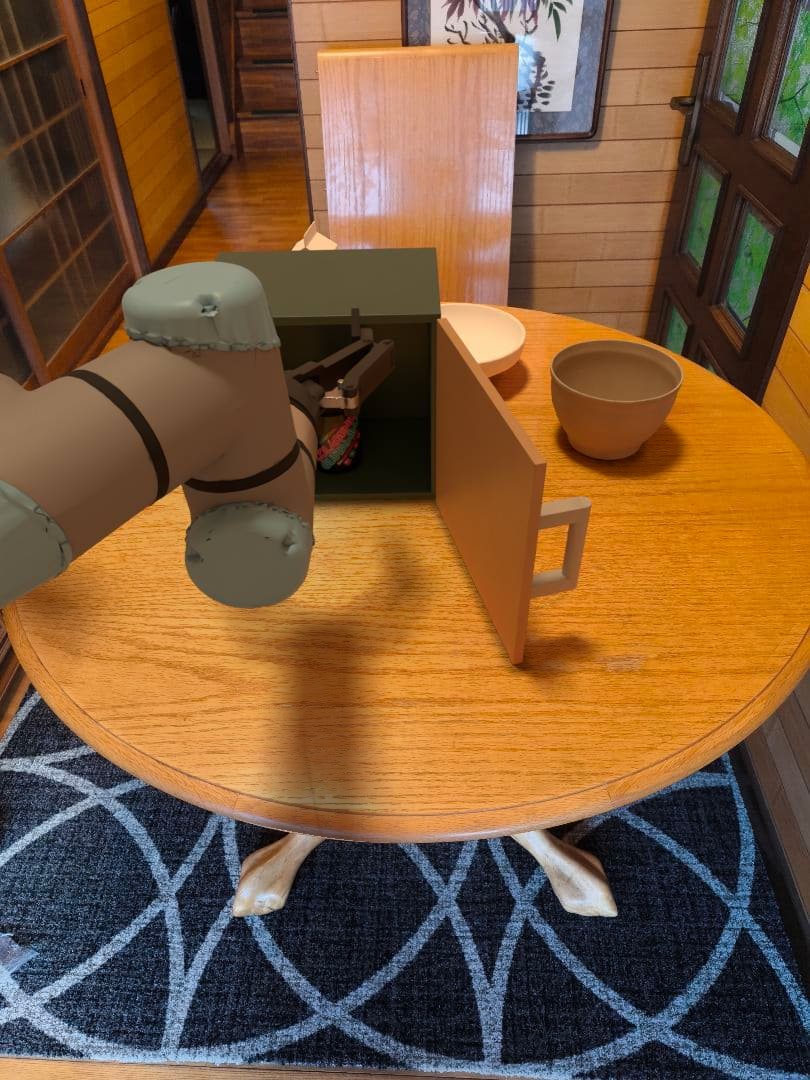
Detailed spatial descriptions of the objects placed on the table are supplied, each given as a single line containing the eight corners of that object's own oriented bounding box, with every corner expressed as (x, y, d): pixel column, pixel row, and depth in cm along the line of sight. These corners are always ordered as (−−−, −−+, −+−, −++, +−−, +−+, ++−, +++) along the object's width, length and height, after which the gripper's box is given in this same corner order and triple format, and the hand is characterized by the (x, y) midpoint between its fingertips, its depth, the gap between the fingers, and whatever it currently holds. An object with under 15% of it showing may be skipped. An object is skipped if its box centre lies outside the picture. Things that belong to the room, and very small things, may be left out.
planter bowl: (679, 426, 104) (697, 353, 97) (646, 490, 93) (664, 414, 86) (566, 398, 110) (576, 327, 103) (523, 455, 99) (531, 382, 92)
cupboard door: (488, 493, 94) (500, 309, 78) (578, 650, 75) (617, 449, 59) (435, 503, 92) (436, 318, 77) (512, 665, 73) (534, 464, 58)
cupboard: (439, 499, 93) (441, 313, 77) (227, 502, 94) (185, 318, 78) (435, 419, 107) (436, 247, 91) (250, 422, 107) (218, 251, 91)
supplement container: (303, 473, 96) (293, 401, 89) (318, 443, 101) (310, 373, 94) (355, 479, 95) (349, 407, 88) (368, 448, 100) (364, 377, 93)
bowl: (452, 333, 126) (453, 291, 121) (548, 373, 115) (553, 329, 111) (366, 377, 116) (363, 333, 111) (462, 425, 105) (464, 379, 101)
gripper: (112, 489, 59) (163, 367, 75) (434, 472, 60) (415, 355, 76) (84, 403, 54) (145, 293, 71) (434, 384, 55) (413, 280, 71)
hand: (285, 325), depth 73 cm, fingers open, 13 cm apart
